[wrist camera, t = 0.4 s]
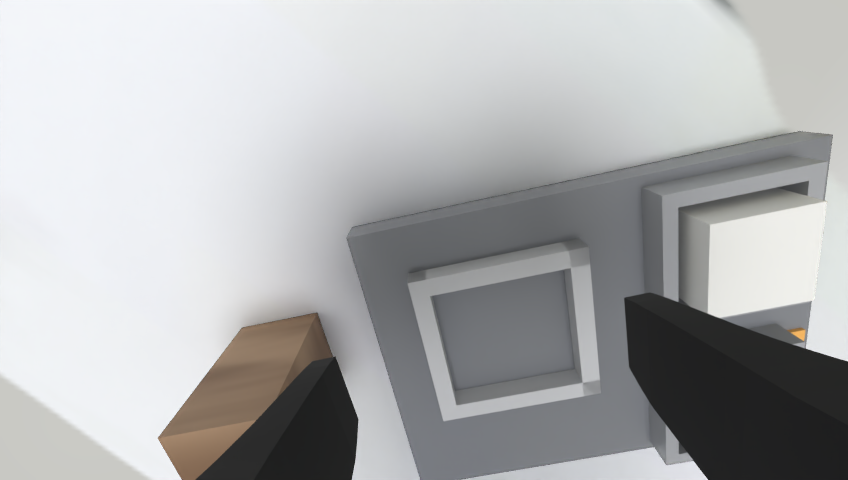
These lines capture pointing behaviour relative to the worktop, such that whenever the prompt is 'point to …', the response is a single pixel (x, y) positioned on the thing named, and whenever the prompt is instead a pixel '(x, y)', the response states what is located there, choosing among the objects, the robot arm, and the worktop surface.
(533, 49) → the worktop surface
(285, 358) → the block
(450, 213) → the breaker panel
